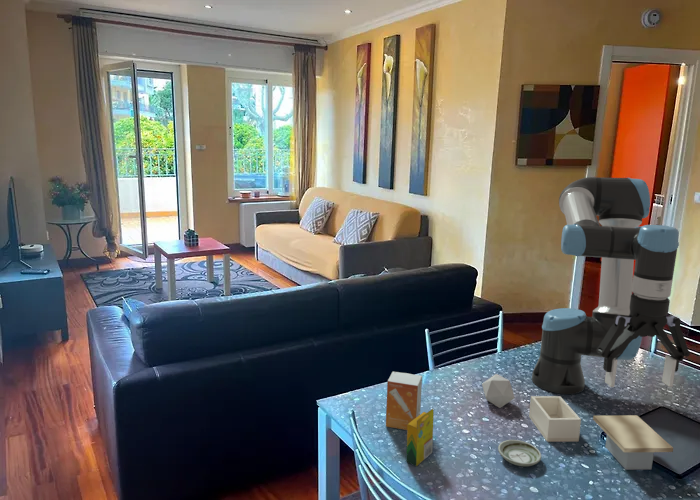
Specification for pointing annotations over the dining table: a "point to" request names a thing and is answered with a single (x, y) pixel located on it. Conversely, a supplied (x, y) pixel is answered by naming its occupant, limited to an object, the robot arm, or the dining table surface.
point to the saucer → (519, 452)
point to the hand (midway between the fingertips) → (638, 384)
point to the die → (498, 390)
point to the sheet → (632, 434)
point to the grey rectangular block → (630, 457)
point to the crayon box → (420, 438)
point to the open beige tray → (554, 419)
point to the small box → (403, 399)
